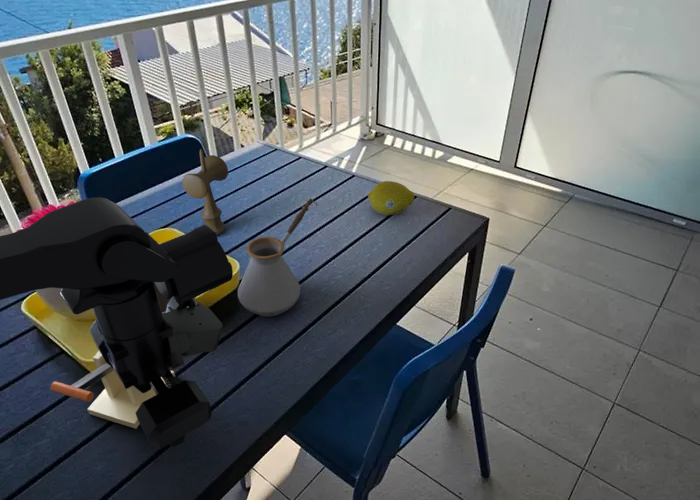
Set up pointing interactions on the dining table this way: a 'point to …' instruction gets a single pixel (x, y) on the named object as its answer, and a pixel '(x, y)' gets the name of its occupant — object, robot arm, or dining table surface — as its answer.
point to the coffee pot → (270, 275)
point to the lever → (82, 384)
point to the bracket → (118, 398)
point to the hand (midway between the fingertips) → (161, 415)
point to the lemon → (390, 198)
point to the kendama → (207, 188)
